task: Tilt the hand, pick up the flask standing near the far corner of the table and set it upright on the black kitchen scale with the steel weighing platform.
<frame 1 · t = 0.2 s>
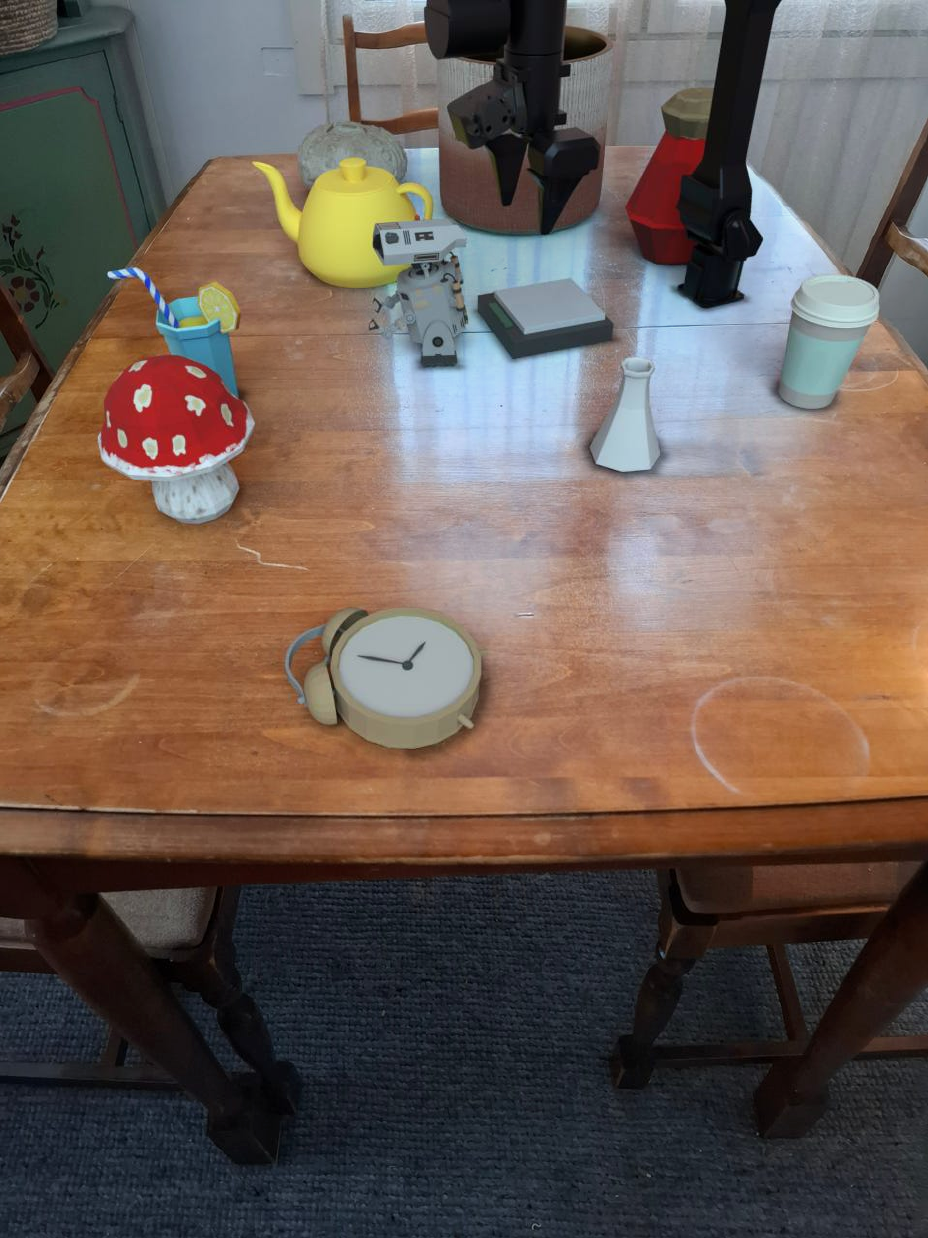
hand: (524, 219, 88), 14 cm above the table, tool pointing down, fingers open, 9 cm apart
coffee cup: (804, 396, 89), on the table
teapot: (356, 266, 115), on the table
cup: (209, 403, 91), on the table
alarm clock: (386, 689, 62), on the table
decorative mushroom: (201, 505, 78), on the table
figurine: (422, 351, 98), on the table
bottle: (673, 254, 115), on the table
kitchen scale: (542, 325, 101), on the table
decorative shell: (356, 195, 134), on the table
flask: (624, 454, 82), on the table
planter: (519, 209, 128), on the table
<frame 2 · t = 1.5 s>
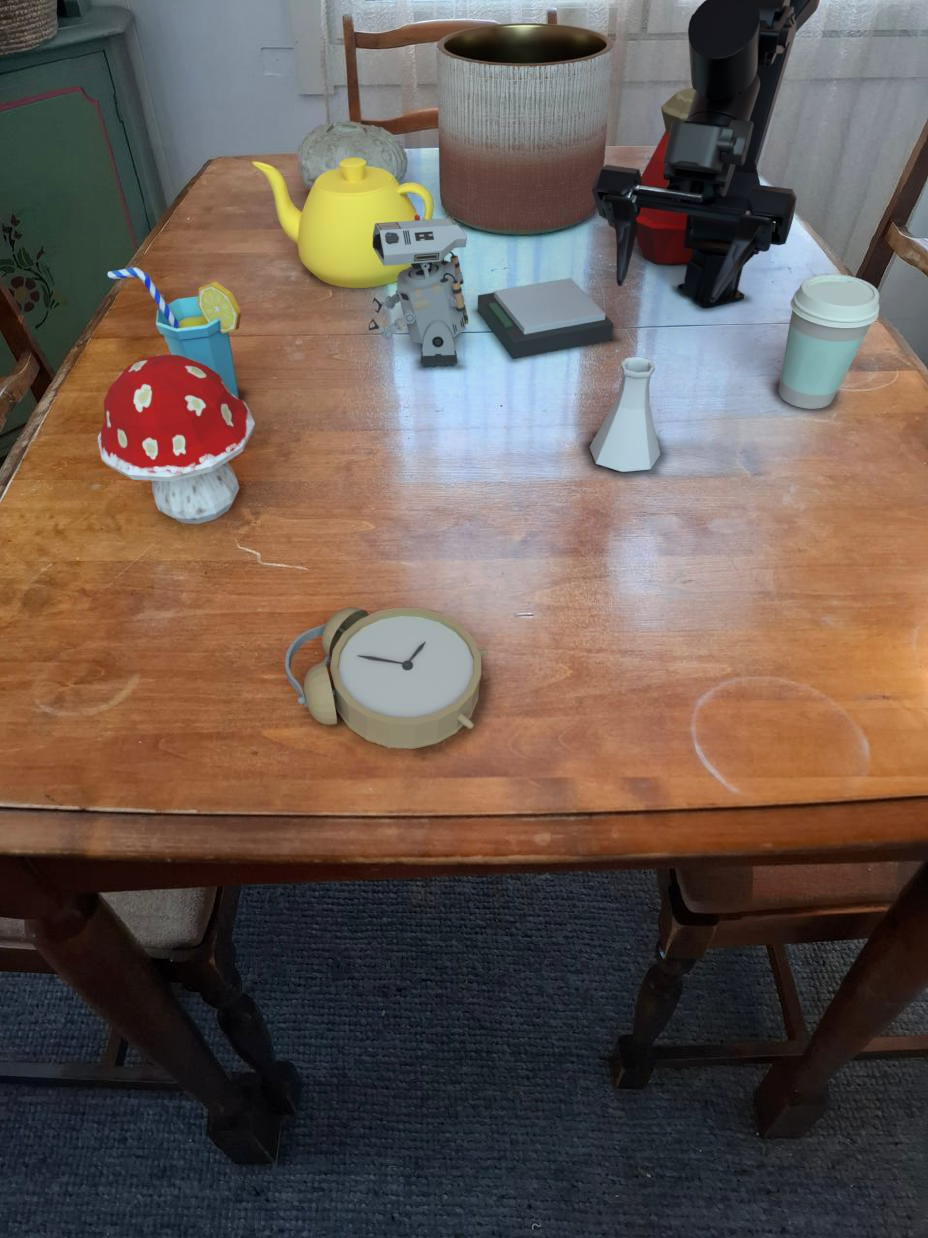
hand: (664, 292, 78), 13 cm above the table, tool tilted 45°, fingers open, 9 cm apart
nothing on the table moved.
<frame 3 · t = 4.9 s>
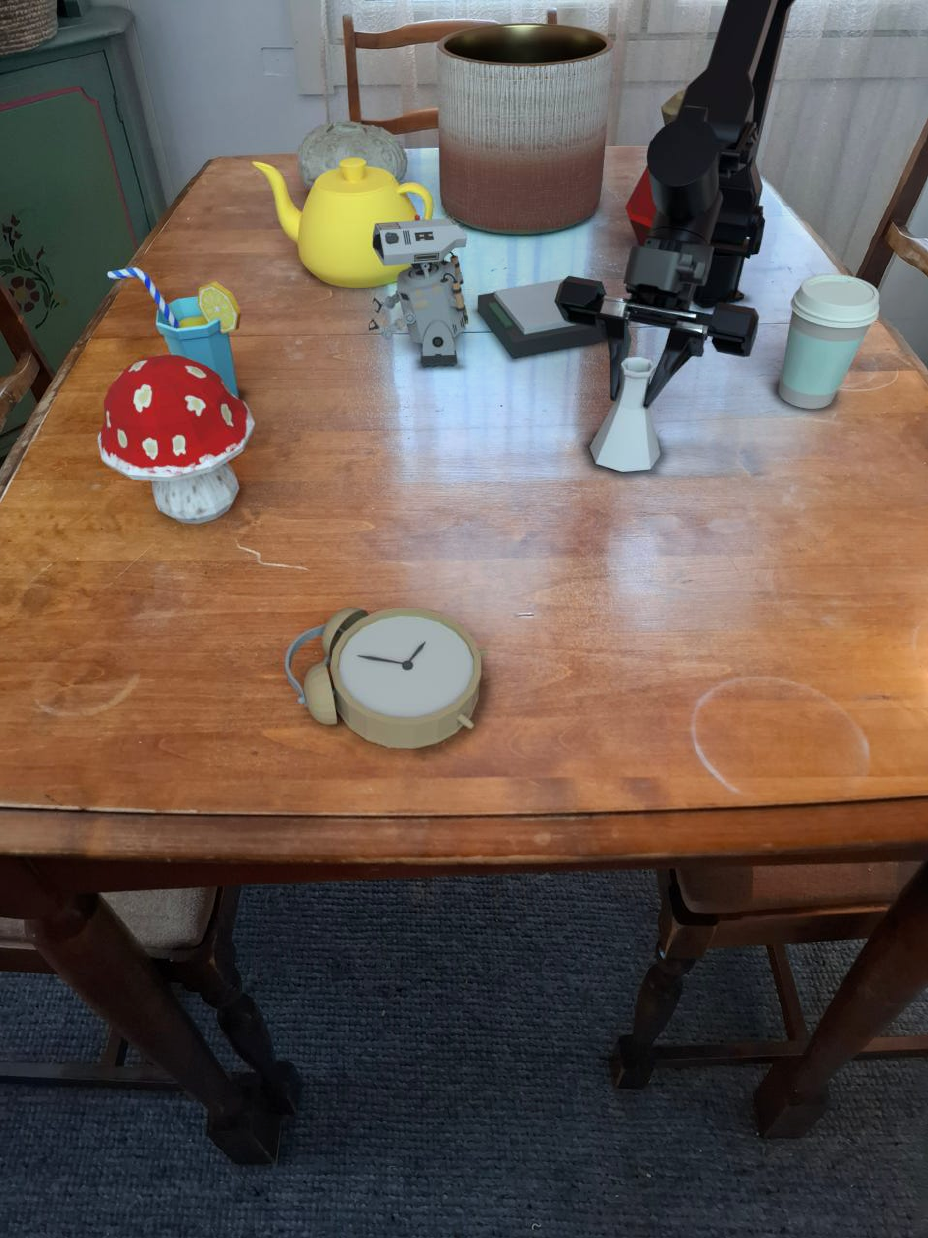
hand: (628, 403, 77), 7 cm above the table, tool tilted 45°, fingers closed on flask, 3 cm apart
flask: (624, 454, 82), on the table, touching gripper
everything else where it was.
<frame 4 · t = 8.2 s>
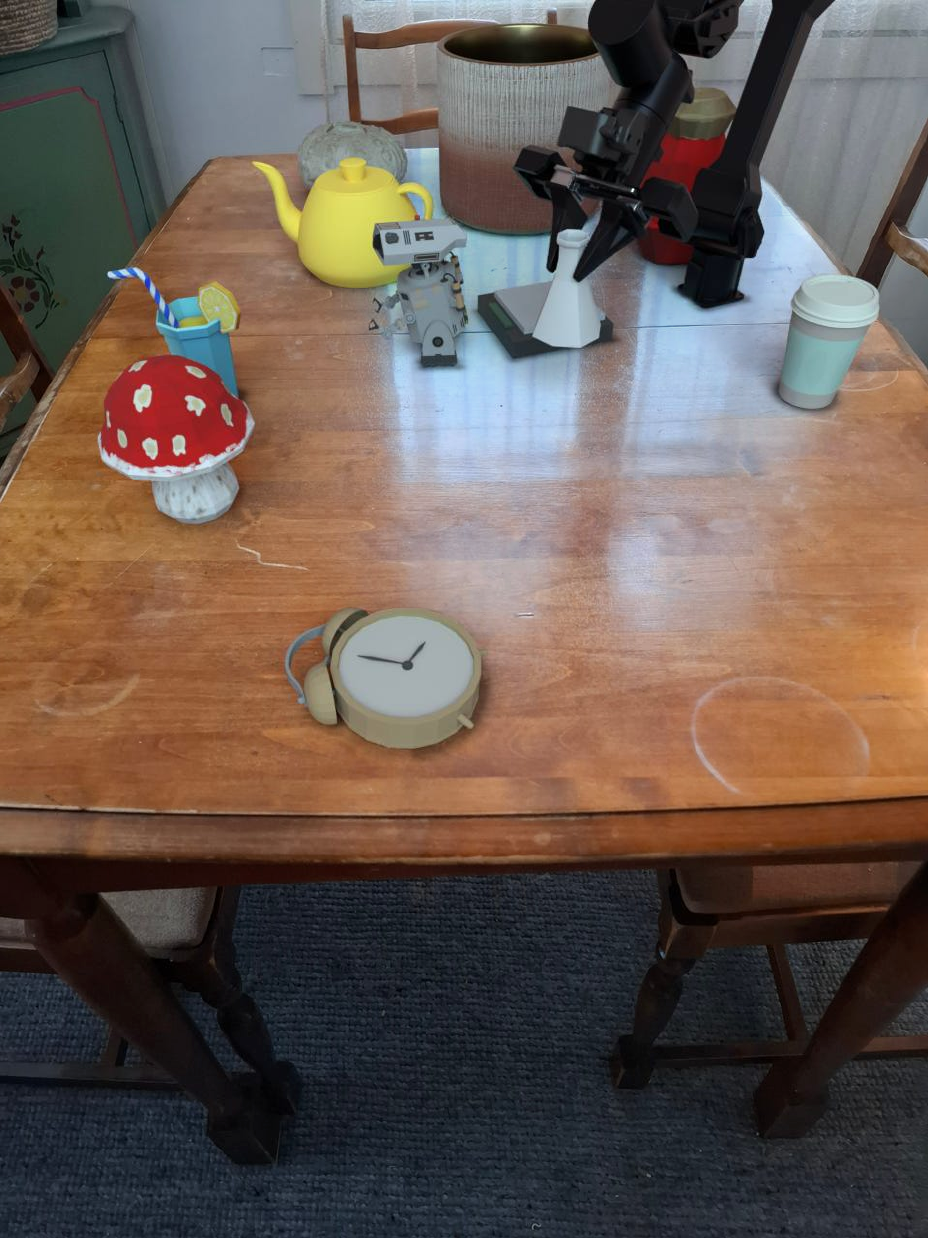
hand: (562, 275, 79), 14 cm above the table, tool tilted 45°, fingers closed on flask, 3 cm apart
flask: (566, 334, 84), point 7 cm above the table, touching gripper
everything else where it was.
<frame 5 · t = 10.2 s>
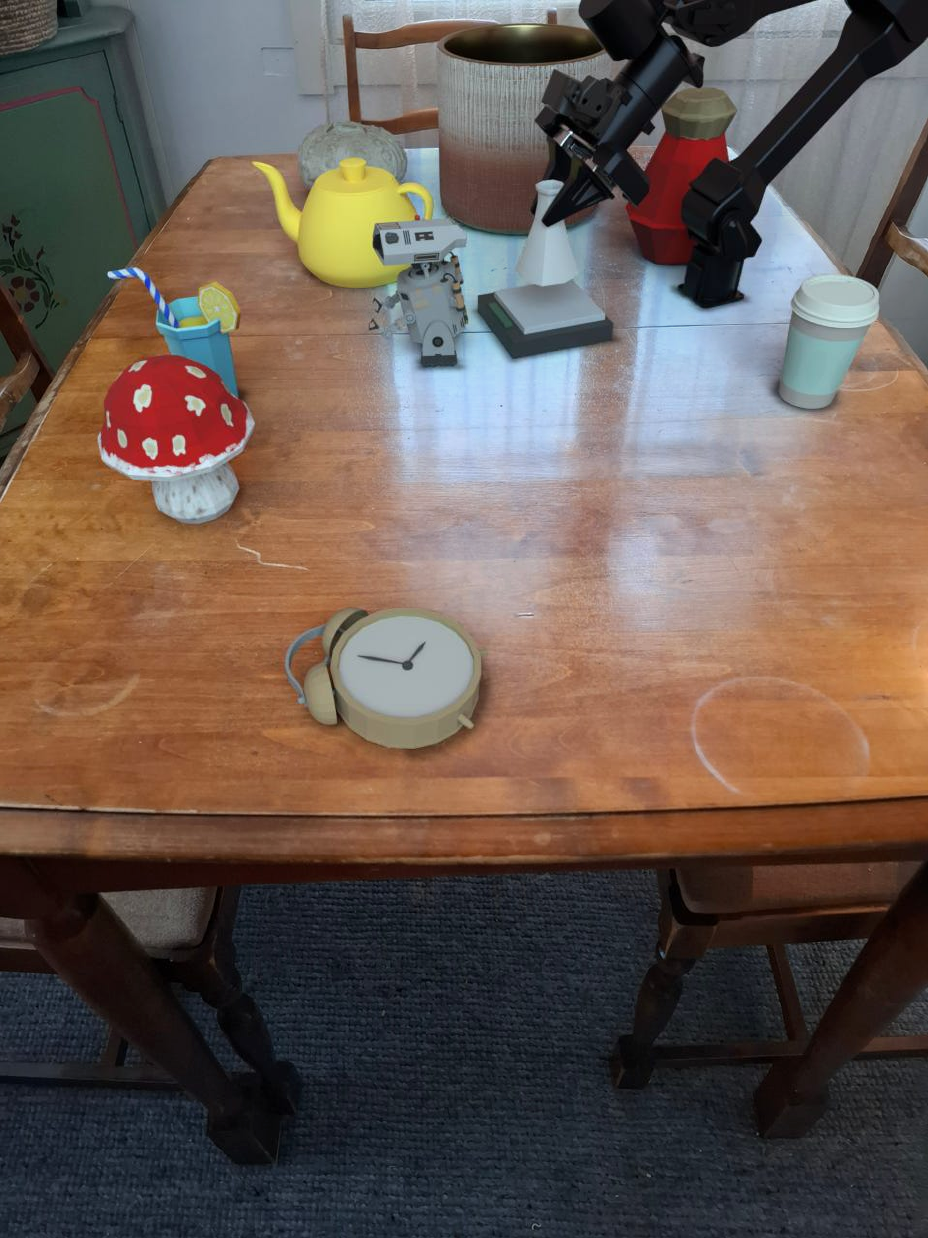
hand: (538, 218, 91), 13 cm above the table, tool tilted 45°, fingers closed on flask, 3 cm apart
flask: (546, 275, 96), point 7 cm above the table, touching gripper
everything else where it was.
when the fingers open (10 cm above the table, at t = 12.0 s): flask stays where it is, resting on kitchen scale.
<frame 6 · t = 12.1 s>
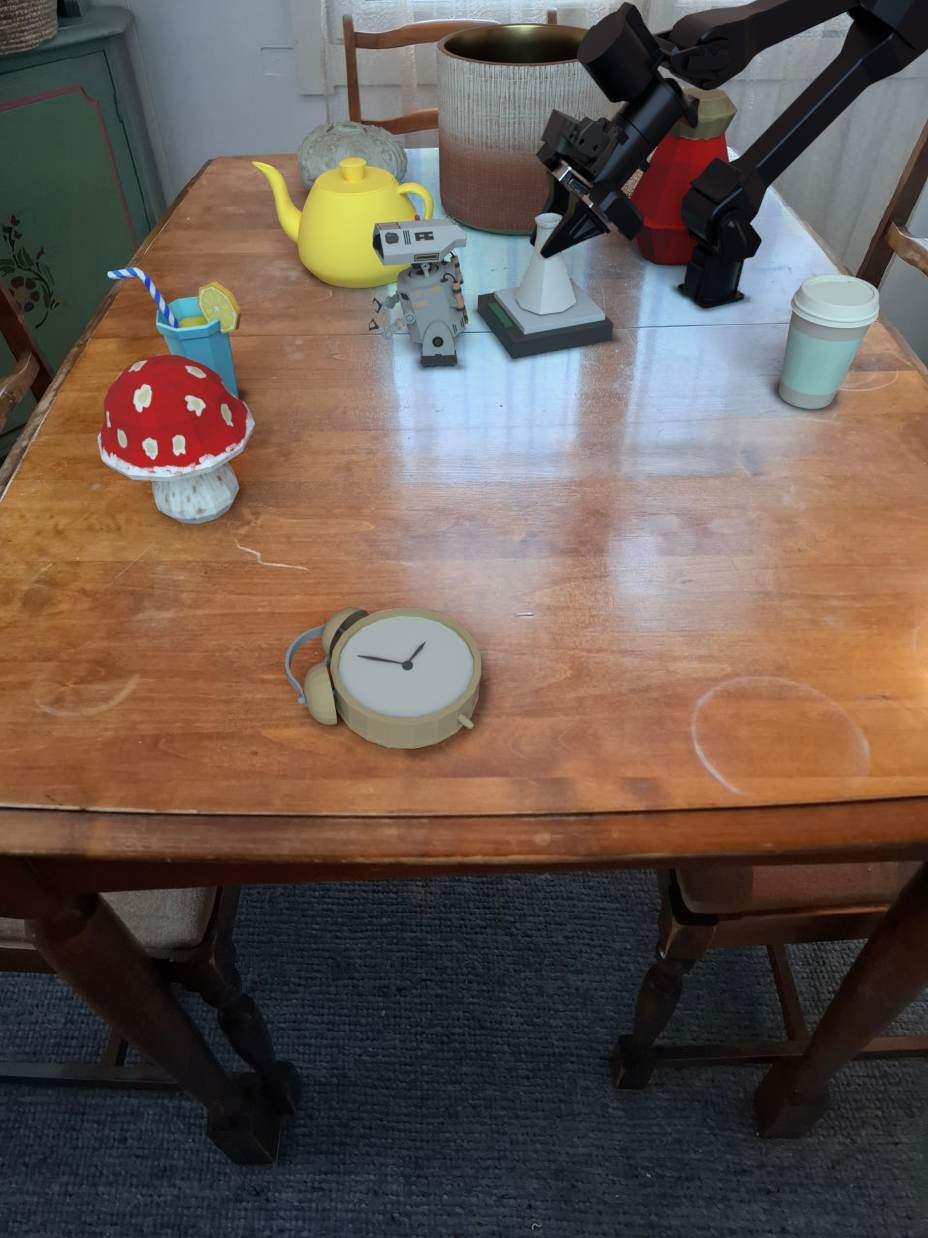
hand: (536, 250, 94), 10 cm above the table, tool tilted 45°, fingers open, 3 cm apart
flask: (545, 303, 99), point 3 cm above the table, touching kitchen scale
everything else where it was.
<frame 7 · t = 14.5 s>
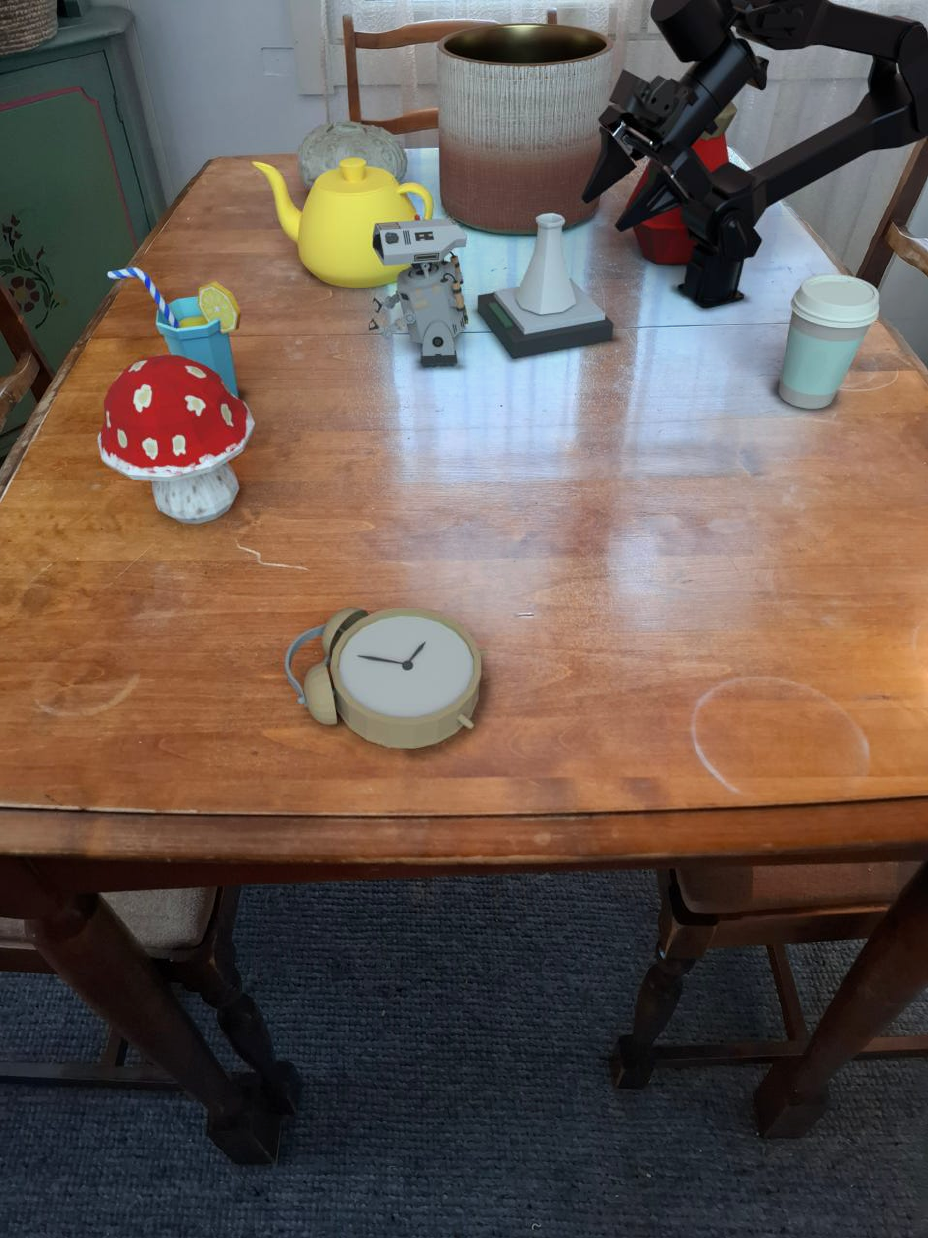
hand: (599, 214, 93), 13 cm above the table, tool tilted 45°, fingers open, 9 cm apart
nothing on the table moved.
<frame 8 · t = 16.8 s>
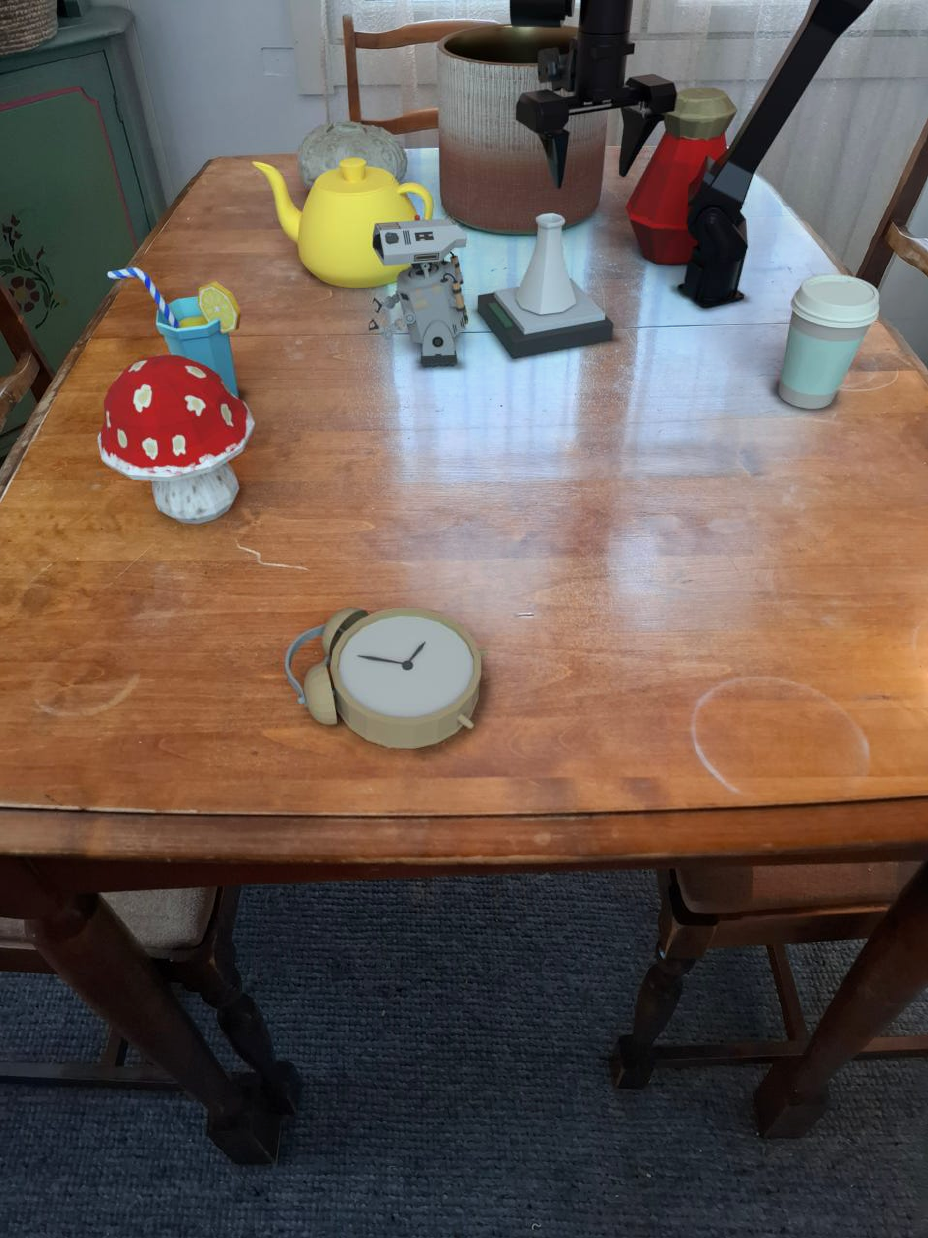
hand: (590, 181, 99), 13 cm above the table, tool pointing down, fingers open, 9 cm apart
nothing on the table moved.
at the end: flask inside the target area on the kitchen scale (0.2 cm from its centre), point 2.8 cm above the kitchen scale's base; flask tilted 0°; the gripper is holding nothing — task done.
